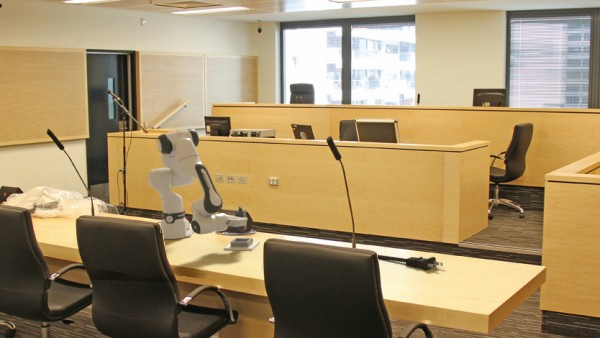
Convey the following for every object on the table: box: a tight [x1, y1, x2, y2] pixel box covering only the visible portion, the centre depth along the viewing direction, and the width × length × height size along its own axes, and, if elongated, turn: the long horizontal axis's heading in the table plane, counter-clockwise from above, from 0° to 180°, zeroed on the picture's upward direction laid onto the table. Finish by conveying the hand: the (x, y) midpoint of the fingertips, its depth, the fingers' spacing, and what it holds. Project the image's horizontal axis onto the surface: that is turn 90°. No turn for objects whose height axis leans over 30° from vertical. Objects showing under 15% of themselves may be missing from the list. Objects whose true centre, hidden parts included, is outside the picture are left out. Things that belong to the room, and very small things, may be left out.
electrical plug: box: [377, 254, 444, 271], centre depth 342 cm, size 9×42×5 cm, turn 46°
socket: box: [223, 237, 261, 251], centre depth 383 cm, size 15×15×4 cm
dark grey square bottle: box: [234, 205, 248, 231], centre depth 381 cm, size 4×4×12 cm
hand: (242, 217), depth 382 cm, fingers closed on dark grey square bottle, 6 cm apart
